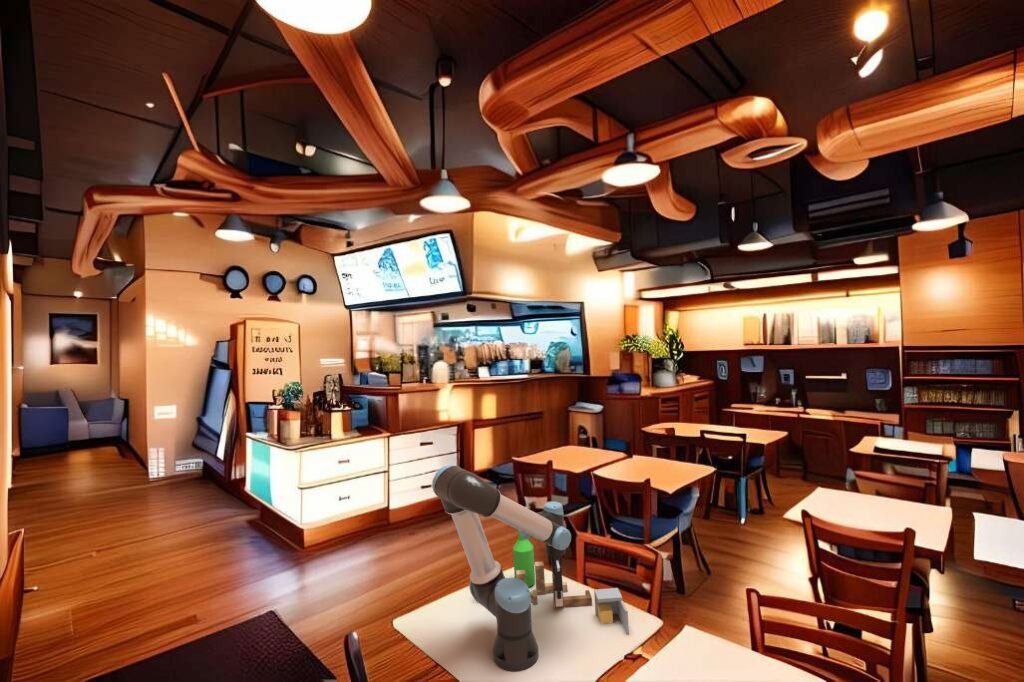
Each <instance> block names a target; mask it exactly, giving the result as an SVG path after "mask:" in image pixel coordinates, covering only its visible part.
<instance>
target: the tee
mask: <svg viewBox="0 0 1024 682" xmlns="http://www.w3.org/2000/svg"><path fill="white" fill-rule="evenodd" d="M516 575H517V579H520V580H522V581H523V582H525V583H526V576H525V570H516ZM530 597H531V604H533V605H535V606H536V605H538V604H539V600H538V595H537V591H536V589H534V590H532V591H530Z"/></svg>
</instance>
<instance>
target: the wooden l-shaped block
mask: <svg viewBox="0 0 1024 682" xmlns="http://www.w3.org/2000/svg"><path fill="white" fill-rule="evenodd" d="M534 568H535V590H536V591H537V596H541V595H542V596H544V595H548V594H553V582H549V583H546V579H545V565H544V561H534ZM562 584H563V593H568V583H567V581H562Z"/></svg>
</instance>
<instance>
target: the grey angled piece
mask: <svg viewBox="0 0 1024 682" xmlns="http://www.w3.org/2000/svg"><path fill="white" fill-rule="evenodd" d="M593 592H594V611H595V616H597V615H598V605H601V604H610V606H611V608H612V611H613V615H617V617H618V618H619V620H620V623H621V625H622V627H623V629H625V630H624V631H625V634H626V635H630V631H629V630H630V629H629V613H628V611H629V610H628V608H627V607H626V605H625V602H624V601H623V596H622V593H621V591H620V589H619V588H618V587H611V588H599V589H594V590H593Z"/></svg>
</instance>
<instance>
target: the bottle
mask: <svg viewBox="0 0 1024 682" xmlns="http://www.w3.org/2000/svg"><path fill="white" fill-rule="evenodd" d="M516 531H517V540H516V542H515V544H514V545H513V546H512V553H513V569H514V579H517V575H516V570H525V576H526V584H527V586H528V588H531V587H532V586H534V585H535V584H536V577H535V554H534V553H535V552H534V545H533V544H532V542H531V541H530V540H529V538H526V539H525V538H523V537H521V535H520V534H519V531H518V529H516Z"/></svg>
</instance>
